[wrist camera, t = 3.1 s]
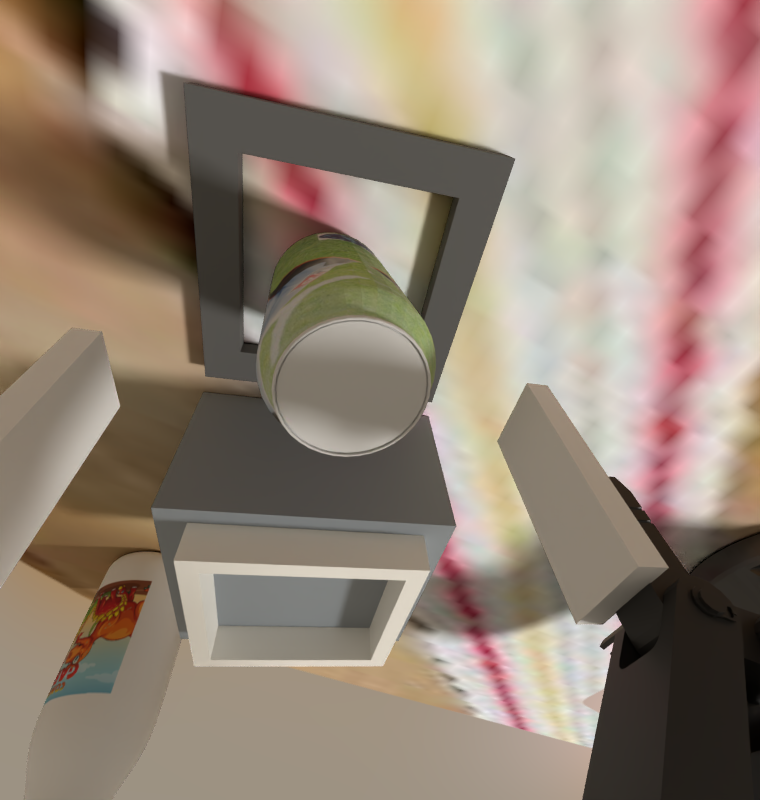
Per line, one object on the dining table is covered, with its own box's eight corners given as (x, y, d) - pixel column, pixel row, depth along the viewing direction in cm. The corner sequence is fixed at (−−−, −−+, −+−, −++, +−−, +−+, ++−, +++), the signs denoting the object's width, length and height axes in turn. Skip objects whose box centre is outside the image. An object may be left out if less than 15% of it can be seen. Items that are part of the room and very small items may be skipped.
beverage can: (258, 305, 23) (198, 463, 13) (314, 176, 19) (285, 269, 10) (357, 350, 25) (366, 514, 16) (425, 243, 21) (488, 372, 12)
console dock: (428, 416, 29) (464, 561, 20) (387, 533, 37) (401, 671, 28) (203, 392, 26) (133, 546, 17) (214, 524, 34) (170, 672, 26)
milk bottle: (199, 552, 37) (91, 904, 21) (200, 594, 41) (112, 911, 26) (104, 545, 35) (-90, 920, 19) (116, 590, 40) (-33, 924, 24)
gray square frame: (508, 155, 19) (515, 158, 18) (429, 392, 27) (431, 402, 27) (191, 82, 17) (183, 82, 16) (209, 367, 25) (205, 376, 24)
